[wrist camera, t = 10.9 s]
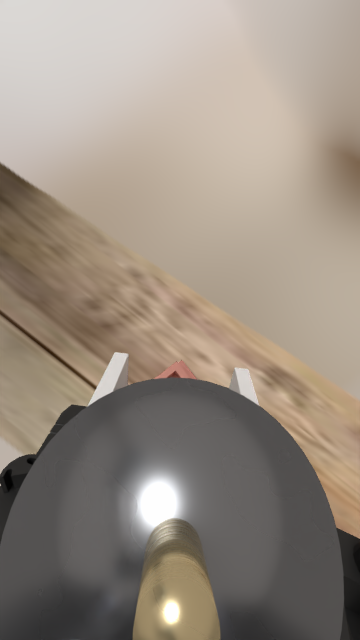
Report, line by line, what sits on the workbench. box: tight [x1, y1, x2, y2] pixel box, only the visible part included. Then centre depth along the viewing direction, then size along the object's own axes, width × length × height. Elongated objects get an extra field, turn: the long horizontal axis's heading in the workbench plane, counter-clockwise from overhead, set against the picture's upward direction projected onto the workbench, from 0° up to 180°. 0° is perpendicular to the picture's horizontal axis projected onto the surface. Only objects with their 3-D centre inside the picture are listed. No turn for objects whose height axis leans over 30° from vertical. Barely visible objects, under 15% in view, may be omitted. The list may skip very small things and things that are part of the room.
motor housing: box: [0, 377, 344, 640], centre depth 10 cm, size 6×6×16 cm
